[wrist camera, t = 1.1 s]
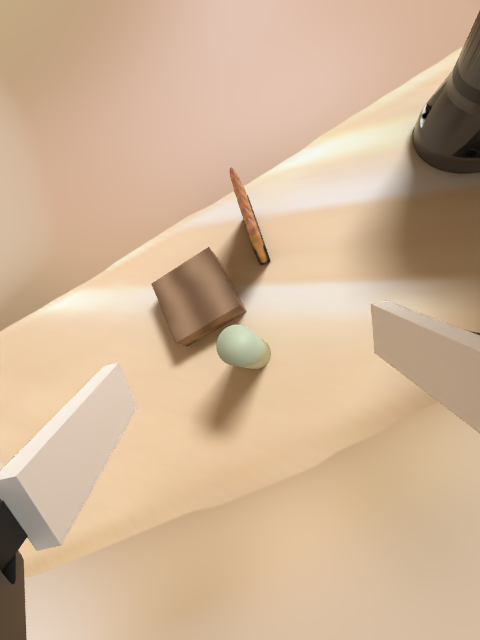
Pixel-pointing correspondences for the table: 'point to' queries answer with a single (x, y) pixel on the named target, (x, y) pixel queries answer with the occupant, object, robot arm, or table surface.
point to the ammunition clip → (249, 219)
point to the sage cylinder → (242, 348)
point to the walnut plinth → (197, 298)
